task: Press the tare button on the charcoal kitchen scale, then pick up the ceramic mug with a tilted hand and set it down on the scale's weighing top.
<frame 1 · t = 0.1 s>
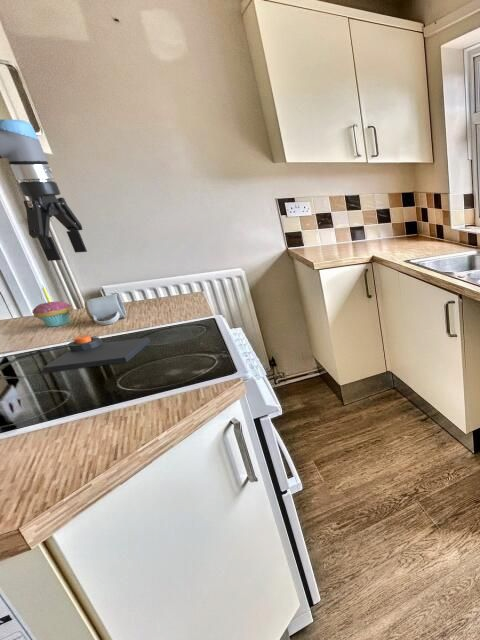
hand: (68, 256, 127), 20 cm above the worktop, tool pointing down, fingers open, 13 cm apart
ceramic mug: (111, 320, 134), on the worktop
cupcake: (59, 324, 132), on the worktop
scale: (102, 356, 108), on the worktop
tare button: (83, 339, 109), point 3 cm above the worktop, slide at 0.1 cm
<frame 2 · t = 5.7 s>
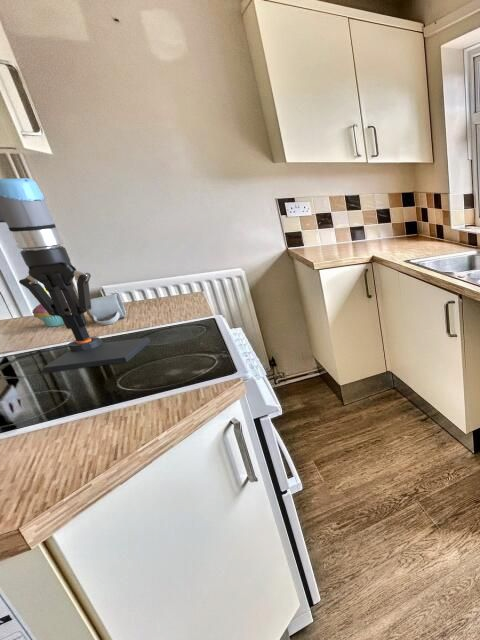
hand: (83, 338, 109), 4 cm above the worktop, tool pointing down, fingers closed
tare button: (84, 342, 110), point 3 cm above the worktop, slide at -0.7 cm, touching gripper
everything else where it was.
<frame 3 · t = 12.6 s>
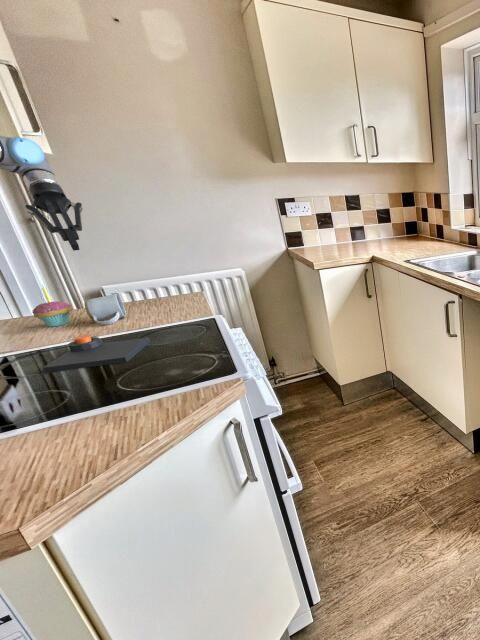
hand: (75, 247, 132), 22 cm above the worktop, tool tilted 45°, fingers closed
tare button: (83, 339, 109), point 3 cm above the worktop, slide at 0.1 cm
everything else where it was.
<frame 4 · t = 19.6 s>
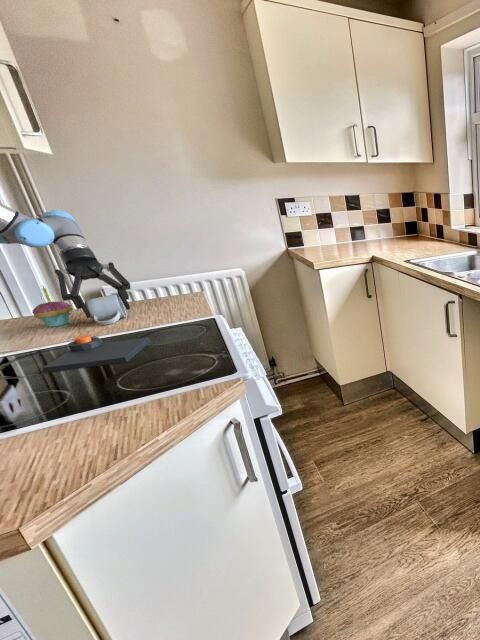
hand: (108, 311, 131), 4 cm above the worktop, tool tilted 45°, fingers closed on ceramic mug, 9 cm apart
ceramic mug: (111, 320, 134), on the worktop, touching gripper
everything else where it was.
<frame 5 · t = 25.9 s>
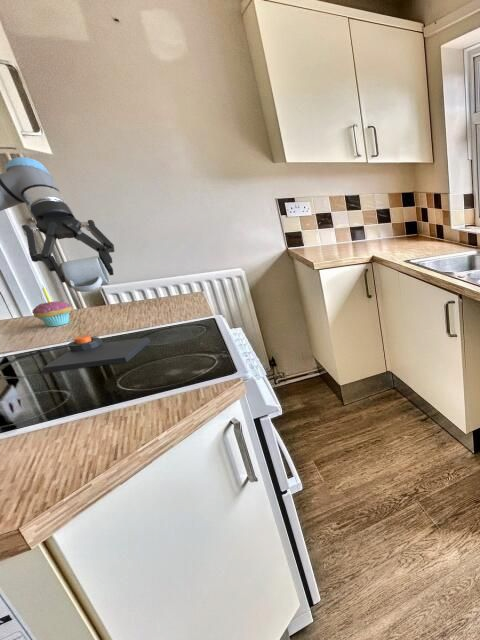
hand: (87, 275, 110), 19 cm above the worktop, tool tilted 45°, fingers closed on ceramic mug, 9 cm apart
ceramic mug: (91, 288, 113), point 15 cm above the worktop, touching gripper
everything else where it was.
when the fingers open (5 cm above the worktop, at t = 32.1 s): ceramic mug stays where it is, resting on scale.
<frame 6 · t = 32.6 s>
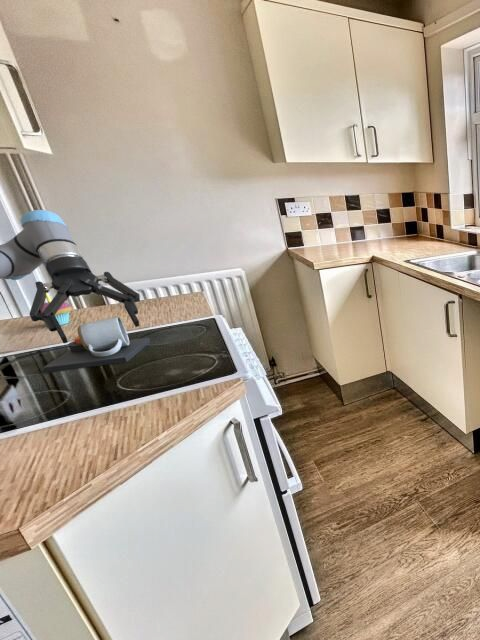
hand: (102, 331, 104), 7 cm above the worktop, tool tilted 45°, fingers open, 13 cm apart
ceramic mug: (110, 350, 108), point 1 cm above the worktop, touching scale
everything else where it was.
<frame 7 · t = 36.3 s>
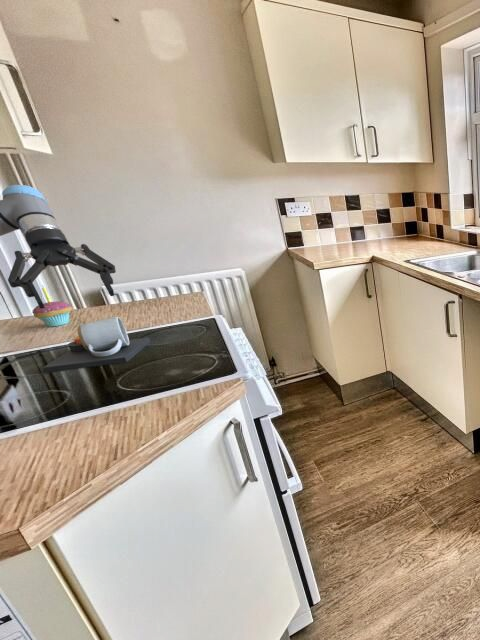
hand: (78, 299, 111), 13 cm above the worktop, tool tilted 45°, fingers open, 13 cm apart
nothing on the worktop moved.
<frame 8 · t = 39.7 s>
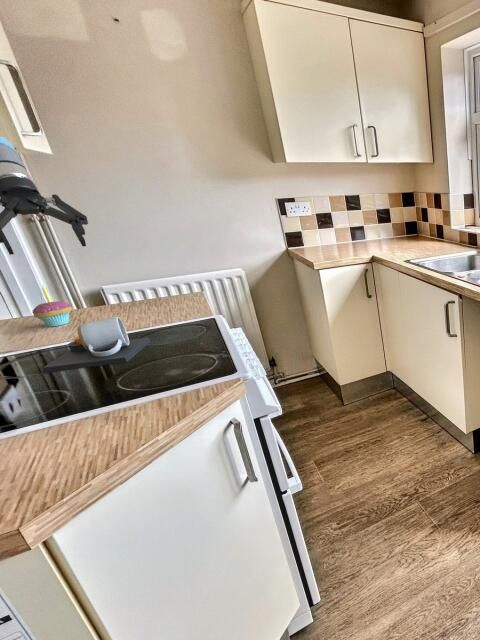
hand: (48, 247, 110), 26 cm above the worktop, tool tilted 45°, fingers open, 13 cm apart
nothing on the worktop moved.
at the end: tare button pushed in 0.8 cm at the most during the clip, back to where it started at the end; ceramic mug inside the target area on the scale (0.1 cm from its centre), point 1.3 cm above the scale's base; ceramic mug touching scale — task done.
